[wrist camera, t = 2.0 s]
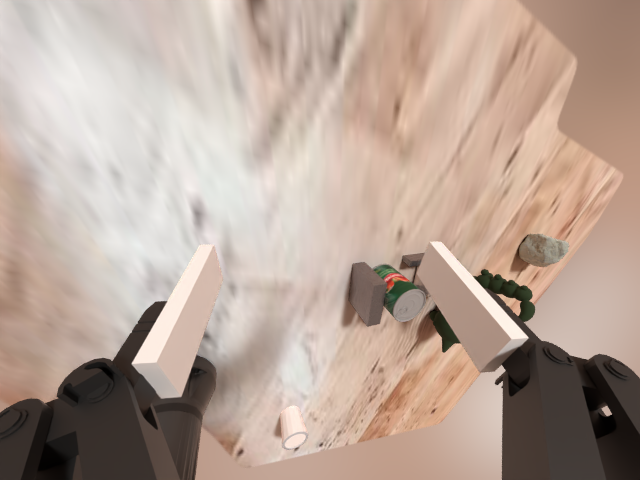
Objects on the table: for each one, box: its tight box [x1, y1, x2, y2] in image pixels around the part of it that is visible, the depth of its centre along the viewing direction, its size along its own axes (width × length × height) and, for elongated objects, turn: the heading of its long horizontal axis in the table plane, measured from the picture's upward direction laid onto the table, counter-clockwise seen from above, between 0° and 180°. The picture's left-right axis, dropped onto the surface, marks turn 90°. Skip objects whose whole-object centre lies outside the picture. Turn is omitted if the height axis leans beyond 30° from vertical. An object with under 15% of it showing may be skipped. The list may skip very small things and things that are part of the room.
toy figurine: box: [430, 269, 535, 352], centre depth 59 cm, size 9×19×25 cm
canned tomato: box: [372, 264, 426, 322], centre depth 50 cm, size 8×8×11 cm
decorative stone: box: [519, 234, 569, 267], centre depth 68 cm, size 13×11×10 cm
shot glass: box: [280, 406, 308, 450], centre depth 61 cm, size 7×7×7 cm
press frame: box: [349, 253, 458, 327], centre depth 53 cm, size 11×26×9 cm, turn 86°
